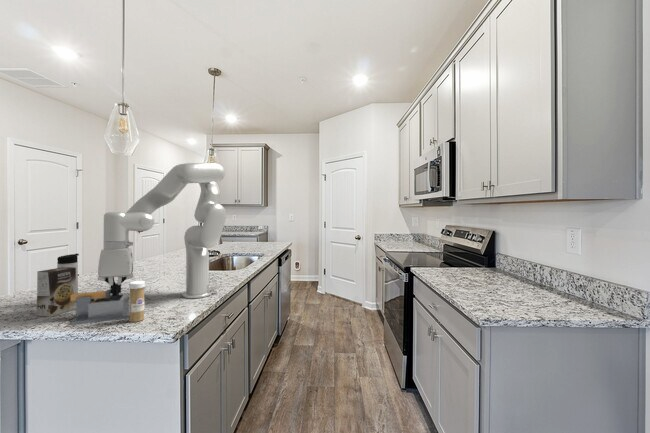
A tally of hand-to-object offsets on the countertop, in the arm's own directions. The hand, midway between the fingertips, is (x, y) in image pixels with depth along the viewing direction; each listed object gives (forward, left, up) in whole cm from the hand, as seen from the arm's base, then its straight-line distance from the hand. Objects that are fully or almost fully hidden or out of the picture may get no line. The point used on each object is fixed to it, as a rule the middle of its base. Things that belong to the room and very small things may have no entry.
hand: (115, 295), depth 107 cm
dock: (+2, 0, -7) cm, 7 cm away
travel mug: (+20, -21, -7) cm, 30 cm away
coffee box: (+20, -10, -7) cm, 24 cm away
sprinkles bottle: (-8, +10, -7) cm, 15 cm away
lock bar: (+7, 0, -1) cm, 7 cm away
